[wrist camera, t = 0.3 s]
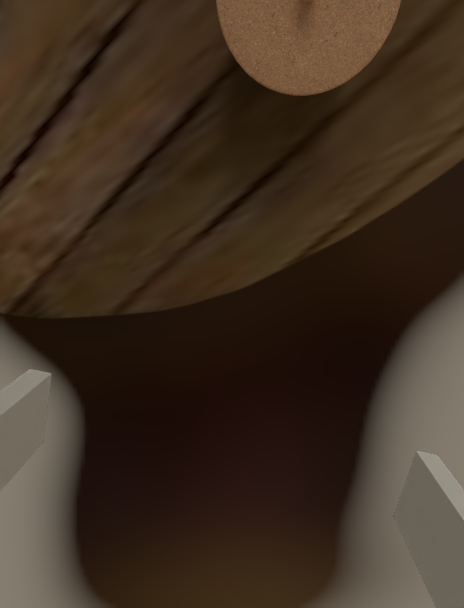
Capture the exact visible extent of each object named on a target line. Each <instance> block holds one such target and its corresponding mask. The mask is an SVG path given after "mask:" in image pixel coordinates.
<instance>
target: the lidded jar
mask: <svg viewBox="0 0 464 608" xmlns="http://www.w3.org/2000/svg"><path fill="white" fill-rule="evenodd" d="M401 1H402V0H216V5H217V13H218V19H219V23H220V26H221V30H222V34H223V36H224V39H225V41H226V43H227V46H228V48H229V50H230V51H231V53H232V55H233V56H234V58H235V60H236V61H237V62H238V64H239V65H240V66H241V67H242V68H243V70H244V71H245V72H246V73H247V74H248V75H249V76H251V77H252V78H253V79H254V80H255V81H257V82H258V83H260V84H262V85H263V86H265V87H267V88H268V89H271V90H274V91H276V92H279V93H283V94H288V95H293V96H308V95H314V94H320V93H323V92H326V91H329V90H332V89H334V88H336V87H338V86H340V85H342V84H344V83H346V82H347V81H349V80H350V79H351V78H353V77H354V76H355V75H357V74H358V73H359V72H360V71H361V70H362V69H363V68H364V67H366V66H367V65H368V64H369V63H370V61H371V60H372V59H373V58H374V56H375V55H376V54H377V53H378V51H379V50H380V49H381V47H382V45H383V44H384V42H385V40H386V39H387V37H388V35H389V33H390V31H391V29H392V27H393V24H394V22H395V20H396V17H397V14H398V11H399V7H400V4H401Z"/></svg>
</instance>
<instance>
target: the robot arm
mask: <svg viewBox="0 0 464 608" xmlns="http://www.w3.org/2000/svg"><path fill="white" fill-rule="evenodd" d="M50 382H51V373H47V372H42V371H37V370H33V369H30V370H28V371H27V372H25V373H24V374H23V375H21V376H20V377H18V378H17V379H16V380H15V381H13V382H12V383H10V384H9V385H7V386H6V387H5V388H3V389H2V390H1V391H0V491H1V490H2V489H3V487H4V486H5V485H6V484H7V483H8V482H9V481H10V479H11V478H12V477H13V476H14V475H15V474H16V473H17V472H18V471H19V469H20V468H21V467H22V466H23V465H24V464H25V463H26V461H27V460H28V459H29V458H30V457H31V456H32V455H33V454H34V453H35V451H36V450H37V449H38V448H39V447H40V446H41V445H42V443H43V442H44V434H45V426H46V416H47V408H48V400H49V391H50ZM393 517H394V519H395V521H396V523H397V525H398V527H399V529H400V532H401V534H402V536H403V538H404V540H405V542H406V544H407V547H408V549H409V551H410V553H411V555H412V557H413V560H414V562H415V564H416V566H417V568H418V570H419V573H420V575H421V577H422V579H423V581H424V583H425V585H426V588H427V590H428V592H429V594H430V596H431V598H432V601H433V603H434V605H435V607H436V608H464V490H463V489H462V487H461V486H460V485H459V483H458V482H457V481H456V479H455V478H454V477H453V475H452V474H451V473H450V471H449V470H448V469H447V467H446V466H445V465H444V463H443V462H442V461H441V459H440V458H439V457H438V455H434V454H429V453H425V452H420V451H416V452H415V456H414V458H413V461H412V464H411V467H410V470H409V473H408V476H407V478H406V481H405V484H404V487H403V490H402V493H401V496H400V498H399V501H398V504H397V507H396V510H395V513H394V516H393Z"/></svg>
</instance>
